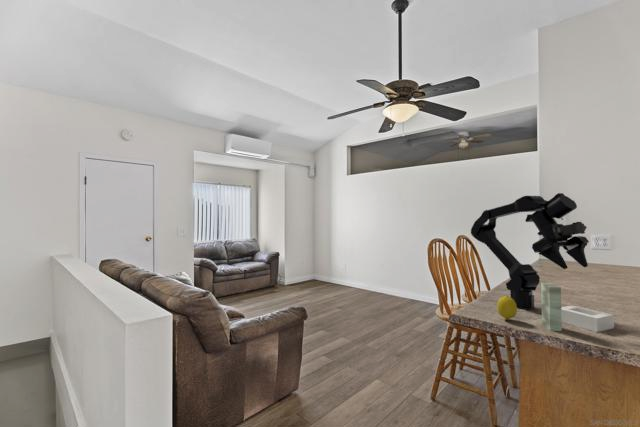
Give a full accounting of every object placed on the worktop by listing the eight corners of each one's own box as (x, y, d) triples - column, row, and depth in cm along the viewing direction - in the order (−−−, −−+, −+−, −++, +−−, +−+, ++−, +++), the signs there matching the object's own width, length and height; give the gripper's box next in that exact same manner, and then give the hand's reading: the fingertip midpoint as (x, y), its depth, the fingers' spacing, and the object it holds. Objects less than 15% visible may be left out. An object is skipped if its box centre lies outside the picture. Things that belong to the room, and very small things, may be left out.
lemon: (494, 317, 101) (493, 293, 101) (510, 317, 101) (510, 293, 101) (503, 322, 95) (503, 297, 96) (521, 322, 95) (520, 297, 95)
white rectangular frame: (557, 320, 97) (556, 308, 97) (573, 317, 100) (573, 305, 100) (597, 332, 87) (596, 318, 87) (613, 327, 90) (613, 314, 90)
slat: (541, 324, 94) (541, 283, 94) (552, 325, 93) (552, 283, 93) (550, 330, 89) (549, 286, 89) (561, 331, 88) (560, 287, 88)
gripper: (547, 213, 94) (579, 257, 86) (588, 212, 100) (621, 254, 91) (520, 231, 103) (546, 273, 94) (558, 230, 108) (587, 269, 100)
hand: (576, 267), depth 95 cm, fingers open, 9 cm apart
